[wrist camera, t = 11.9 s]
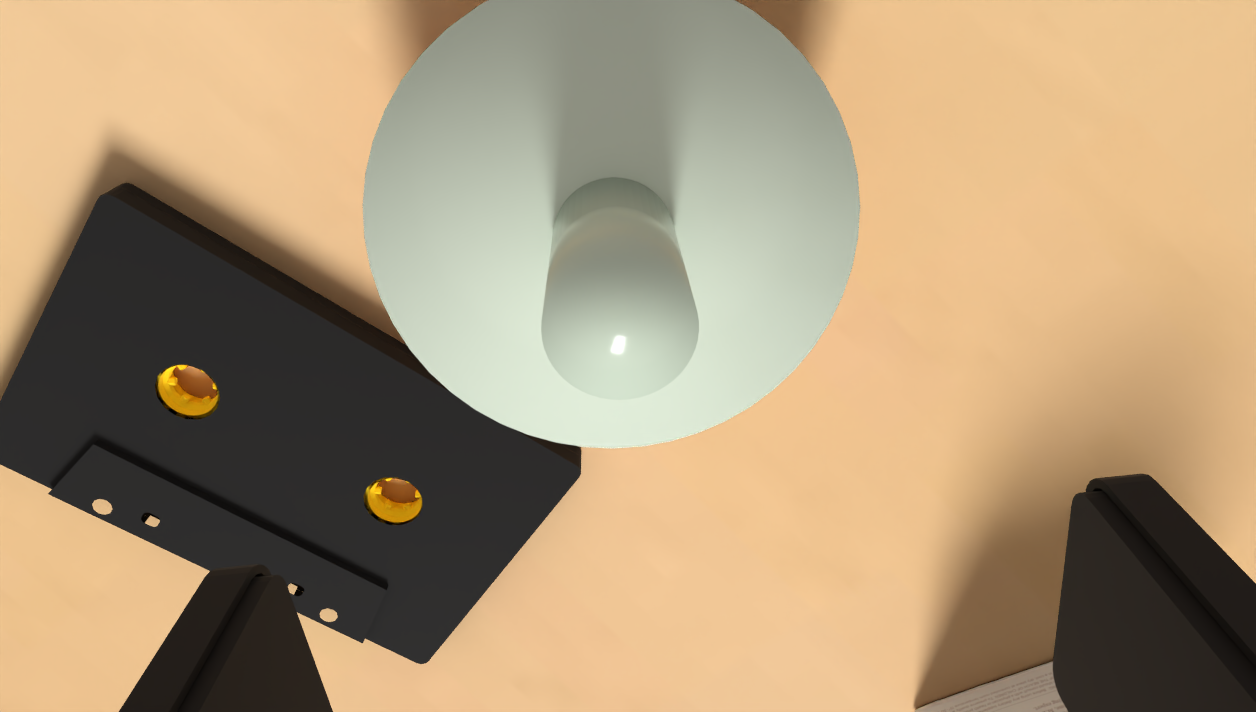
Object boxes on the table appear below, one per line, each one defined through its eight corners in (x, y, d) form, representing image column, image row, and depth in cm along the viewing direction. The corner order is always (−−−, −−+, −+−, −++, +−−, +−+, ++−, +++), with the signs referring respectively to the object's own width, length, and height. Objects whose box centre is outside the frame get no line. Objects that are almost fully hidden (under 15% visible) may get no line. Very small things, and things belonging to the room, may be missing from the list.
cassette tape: (7, 425, 33) (-30, 456, 31) (130, 174, 29) (97, 192, 27) (431, 633, 38) (422, 671, 36) (585, 443, 34) (584, 474, 32)
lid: (845, -67, 21) (955, -65, 15) (850, 400, 27) (930, 548, 21) (316, 2, 22) (198, 34, 15) (430, 451, 27) (380, 613, 21)
